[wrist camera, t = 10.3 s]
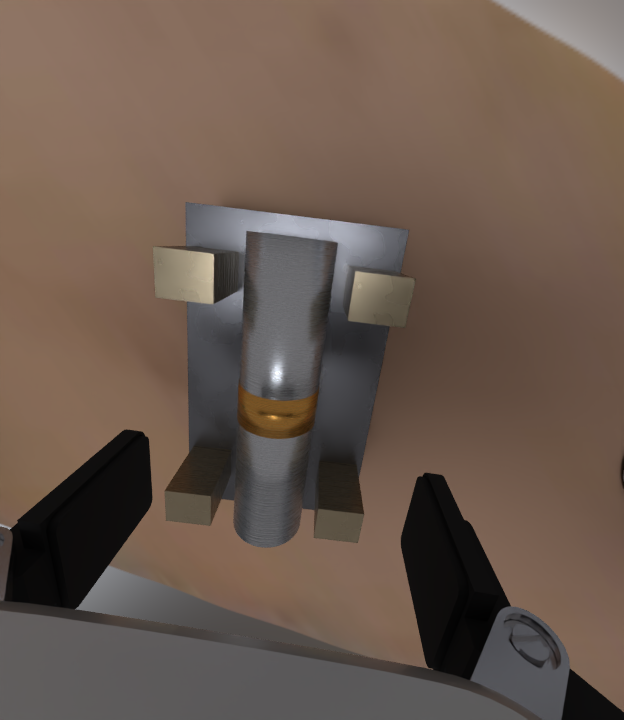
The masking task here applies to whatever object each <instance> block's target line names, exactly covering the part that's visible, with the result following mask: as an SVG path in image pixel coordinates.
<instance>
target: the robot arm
mask: <svg viewBox="0 0 624 720" xmlns="http://www.w3.org/2000/svg"><path fill="white" fill-rule="evenodd" d="M623 480H624V472H623ZM151 503H152V483H151V466H150V450H149V439H148V437H145V434H144V433H143V432H141V431H134V430H124V431H122V432H121V433H120V434H119V435H117V436H116V437H115V438H114V439H113V440H112V441H110V442H109V443H108V444H107V445H106V446H104V447H103V448H102V449H101V450H100V451H99V452H97V453H96V454H95V455H94V456H93V457H91V458H90V459H89V460H88V461H87V462H86V463H84V464H83V465H82V466H81V467H80V468H79V469H77V470H76V471H75V472H74V473H73V474H71V475H70V476H69V477H68V478H67V479H66V480H64V481H63V482H62V483H61V484H60V485H59V486H57V487H56V488H55V489H54V490H53V491H51V492H50V493H49V494H48V495H47V496H46V497H44V498H43V499H42V500H41V501H40V502H39V503H37V504H36V505H35V506H34V507H33V508H31V509H30V510H29V511H28V512H27V513H26V514H24V515H23V516H22V517H21V518H20V519H18V520H17V521H18V523H17V524H16V525H15V526H14V527H12V528H11V529H10V530H9V529H8V528H4V527H0V720H624V712H622V711H621V710H620V709H619V708H618V707H616V706H615V705H614V704H613V703H611V702H610V701H609V700H608V699H607V698H605V697H604V696H603V695H602V694H600V693H599V692H598V691H597V690H596V689H594V688H593V687H592V686H591V685H589V684H588V683H587V682H586V681H585V680H583V679H582V678H581V677H580V676H579V675H577V674H576V673H575V672H574V671H572V670H571V669H570V665H569V657H568V654H567V652H566V649H565V647H564V645H563V644H562V642H561V641H560V639H559V638H558V636H557V635H556V634H555V633H554V632H553V630H552V629H551V628H550V627H549V626H548V625H547V624H546V623H544V622H543V621H542V620H541V619H540V618H538V617H537V616H535V615H534V614H532V613H530V612H529V611H527V610H524V609H521V608H518V607H511V605H510V603H509V601H508V599H507V597H506V595H505V593H504V591H503V589H502V587H501V585H500V583H499V581H498V579H497V576H496V574H495V572H494V570H493V568H492V566H491V564H490V562H489V560H488V558H487V556H486V554H485V552H484V550H483V548H482V546H481V544H480V541H479V539H478V537H477V535H476V533H475V531H474V529H473V527H472V526H471V524H470V523H469V522H468V521H466V520H464V519H463V517H462V515H461V512H460V510H459V508H458V506H457V504H456V502H455V500H454V497H453V495H452V493H451V491H450V489H449V487H448V485H447V482H446V480H445V478H444V477H443V476H442V475H438V474H431V473H424V474H423V477H421V476H419V477H418V478H417V481H416V484H415V488H414V492H413V495H412V499H411V503H410V506H409V510H408V513H407V517H406V521H405V524H404V528H403V532H402V535H401V549H402V554H403V558H404V563H405V568H406V572H407V577H408V582H409V586H410V591H411V596H412V600H413V605H414V610H415V614H416V619H417V624H418V628H419V633H420V638H421V642H422V647H423V652H424V656H425V661H426V664H427V666H428V668H432V669H433V670H431V669H427V668H422V667H417V666H412V665H407V664H401V663H396V662H391V661H386V660H380V659H375V658H370V657H364V656H358V655H352V654H346V653H341V652H335V651H328V650H323V649H317V648H311V647H305V646H300V645H294V644H287V643H282V642H276V641H270V640H264V639H258V638H252V637H246V636H239V635H233V634H227V633H221V632H215V631H208V630H203V629H196V628H190V627H184V626H178V625H172V624H165V623H159V622H153V621H146V620H140V619H134V618H127V617H120V616H114V615H108V614H102V613H95V612H89V611H82V610H75V609H76V608H77V607H78V606H79V605H80V604H81V602H82V601H83V600H84V598H85V597H86V595H87V594H88V592H89V591H90V590H91V588H92V587H93V586H94V584H95V583H96V582H97V580H98V579H99V577H100V576H101V575H102V573H103V572H104V571H105V569H106V568H107V566H108V565H109V564H110V562H111V561H112V559H113V558H114V557H115V555H116V554H117V553H118V551H119V550H120V548H121V547H122V546H123V544H124V543H125V542H126V540H127V539H128V537H129V536H130V535H131V533H132V532H133V530H134V529H135V528H136V526H137V525H138V524H139V522H140V521H141V519H142V518H143V517H144V515H145V514H146V512H147V511H148V510H149V508H150V506H151Z"/></svg>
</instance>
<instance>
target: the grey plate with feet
mask: <svg viewBox="0 0 624 720" xmlns="http://www.w3.org/2000/svg"><path fill="white" fill-rule="evenodd" d="M246 231H253V232H262V233H270V234H279V235H287V236H295V237H303V238H310V239H318V240H325V241H332V242H338V247H337V254H336V262H335V269H334V276H333V284H332V291H331V298H330V306H329V313H328V320H327V328H326V335H325V343H324V350H323V357H322V365H321V372H320V379H319V394H318V401H317V409H316V416H315V423H314V426H313V431H312V438H311V446H310V453H309V461H308V468H307V475H306V483H305V490H304V497H303V505H302V508H303V509H312V510H315V515H314V538H320V539H328V540H337V541H345V542H354V543H358V540H359V536H360V531H361V526H362V522H363V517H364V510H363V503H362V497H361V490H360V484H359V475H360V470H361V465H362V460H363V455H364V450H365V445H366V440H367V435H368V430H369V425H370V420H371V415H372V410H373V406H374V401H375V396H376V391H377V386H378V381H379V376H380V371H381V366H382V361H383V356H384V351H385V346H386V341H387V336H388V331H389V327H390V326H394V327H402V328H405V326H406V321H407V317H408V312H409V308H410V303H411V299H412V294H413V290H414V285H415V280H416V279H415V278H412V277H410V276H407V275H404V274H401V273H400V272H401V267H402V262H403V257H404V252H405V248H406V243H407V238H408V233H409V230H406V229H398V228H390V227H382V226H374V225H366V224H357V223H349V222H341V221H333V220H325V219H317V218H309V217H301V216H293V215H285V214H277V213H269V212H261V211H253V210H245V209H237V208H229V207H221V206H213V205H204V204H196V203H188V202H186V246H153V258H154V279H155V297H156V298H164V299H172V300H181V301H187V332H188V399H189V454H188V456H187V457H186V459H185V460H184V462H183V463H182V465H181V466H180V468H179V469H178V471H177V473H176V474H175V476H174V477H173V479H172V480H171V482H170V483H169V485H168V486H167V488H166V490H165V509H166V521H174V522H183V523H191V524H200V525H208V526H211V523H212V521H213V518H214V516H215V513H216V511H217V508H218V506H219V503H220V501H221V499H227V500H234V496H235V474H236V452H237V429H238V420H237V407H238V384H239V378H240V362H241V340H242V317H243V295H244V273H245V250H246Z"/></svg>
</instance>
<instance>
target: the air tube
mask: <svg viewBox="0 0 624 720" xmlns="http://www.w3.org/2000/svg"><path fill="white" fill-rule="evenodd" d="M337 247H338V242H332V241H325V240H318V239H310V238H303V237H295V236H287V235H279V234H270V233H262V232H253V231H246V250H245V273H244V295H243V317H242V340H241V362H240V378H239V384H238V407H237V420H238V429H237V452H236V474H235V496H234V519H233V523H234V528H235V530H236V532H237V534H238V535H239V536H240V538H241V539H243V540H244V541H245V542H247V543H249V544H251V545H254V546H257V547H275V546H279V545H282V544H284V543H286V542H287V541H289V540H290V539H291V538H292V537H293V536H294V535H295V534H296V533H297V531H298V529H299V526H300V520H301V512H302V505H303V497H304V490H305V483H306V475H307V468H308V461H309V453H310V446H311V438H312V431H313V426H314V423H315V416H316V409H317V401H318V394H319V379H320V372H321V365H322V357H323V350H324V343H325V335H326V328H327V320H328V313H329V306H330V298H331V291H332V284H333V276H334V269H335V262H336V254H337Z"/></svg>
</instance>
